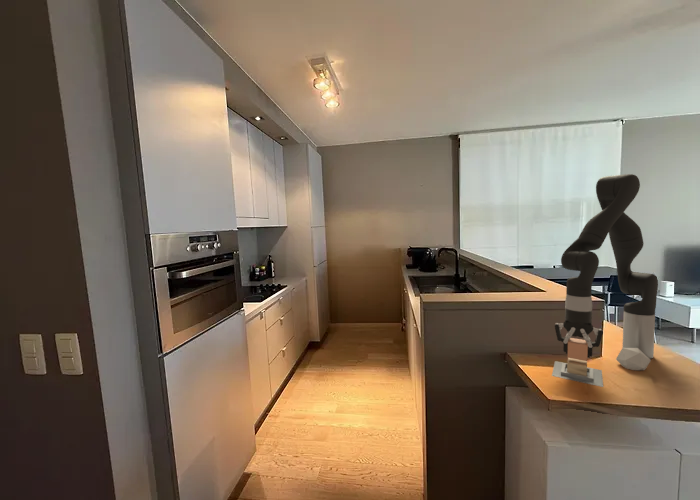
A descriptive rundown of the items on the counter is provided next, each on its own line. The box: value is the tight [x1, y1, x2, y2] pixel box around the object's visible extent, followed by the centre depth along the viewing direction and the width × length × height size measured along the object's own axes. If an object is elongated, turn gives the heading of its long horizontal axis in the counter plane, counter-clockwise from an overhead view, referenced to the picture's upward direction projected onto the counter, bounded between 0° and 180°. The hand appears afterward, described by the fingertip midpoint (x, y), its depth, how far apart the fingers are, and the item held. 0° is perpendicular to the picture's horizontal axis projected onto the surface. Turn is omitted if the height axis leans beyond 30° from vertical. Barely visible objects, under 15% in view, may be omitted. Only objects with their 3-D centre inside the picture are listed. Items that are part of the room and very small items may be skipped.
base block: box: [566, 357, 588, 376], centre depth 110 cm, size 6×6×4 cm
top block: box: [567, 337, 588, 362], centre depth 109 cm, size 6×6×6 cm
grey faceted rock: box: [615, 347, 652, 371], centre depth 113 cm, size 8×9×10 cm
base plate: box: [551, 360, 604, 388], centre depth 110 cm, size 14×14×2 cm
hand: (577, 354), depth 109 cm, fingers closed on top block, 5 cm apart
